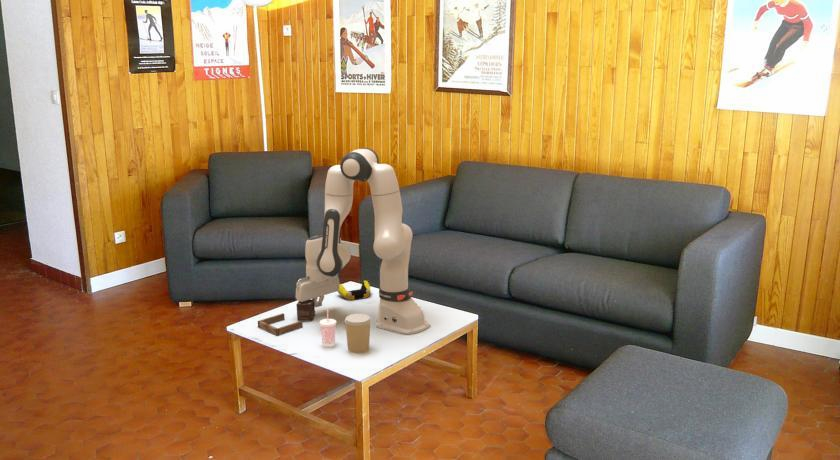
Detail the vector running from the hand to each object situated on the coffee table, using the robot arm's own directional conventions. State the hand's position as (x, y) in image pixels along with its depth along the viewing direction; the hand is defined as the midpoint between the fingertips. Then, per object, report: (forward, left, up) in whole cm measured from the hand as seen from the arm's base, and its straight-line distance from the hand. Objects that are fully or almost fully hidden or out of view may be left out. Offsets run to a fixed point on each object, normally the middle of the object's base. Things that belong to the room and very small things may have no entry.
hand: (318, 306), depth 301 cm
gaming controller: (+6, -26, -4) cm, 27 cm away
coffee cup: (-38, +12, -4) cm, 40 cm away
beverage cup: (-27, +17, -4) cm, 32 cm away
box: (0, +6, -4) cm, 7 cm away
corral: (0, +19, -4) cm, 19 cm away
